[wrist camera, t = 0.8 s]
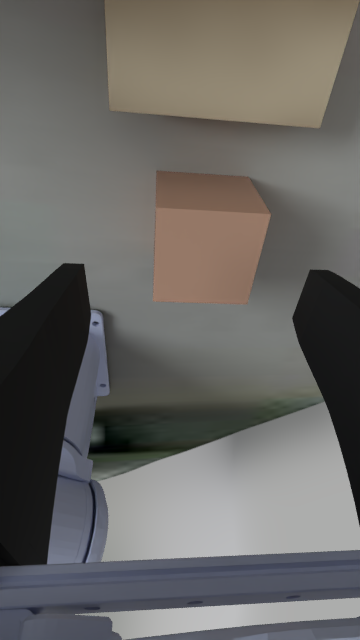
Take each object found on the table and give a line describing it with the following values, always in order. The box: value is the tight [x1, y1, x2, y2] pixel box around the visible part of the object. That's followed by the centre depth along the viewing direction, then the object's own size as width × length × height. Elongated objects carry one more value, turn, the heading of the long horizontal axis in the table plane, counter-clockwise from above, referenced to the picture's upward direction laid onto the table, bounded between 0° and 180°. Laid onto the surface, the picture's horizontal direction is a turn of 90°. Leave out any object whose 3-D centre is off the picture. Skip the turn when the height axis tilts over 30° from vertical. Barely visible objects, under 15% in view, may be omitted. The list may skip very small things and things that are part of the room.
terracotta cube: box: [153, 171, 271, 304], centre depth 18 cm, size 5×5×5 cm
